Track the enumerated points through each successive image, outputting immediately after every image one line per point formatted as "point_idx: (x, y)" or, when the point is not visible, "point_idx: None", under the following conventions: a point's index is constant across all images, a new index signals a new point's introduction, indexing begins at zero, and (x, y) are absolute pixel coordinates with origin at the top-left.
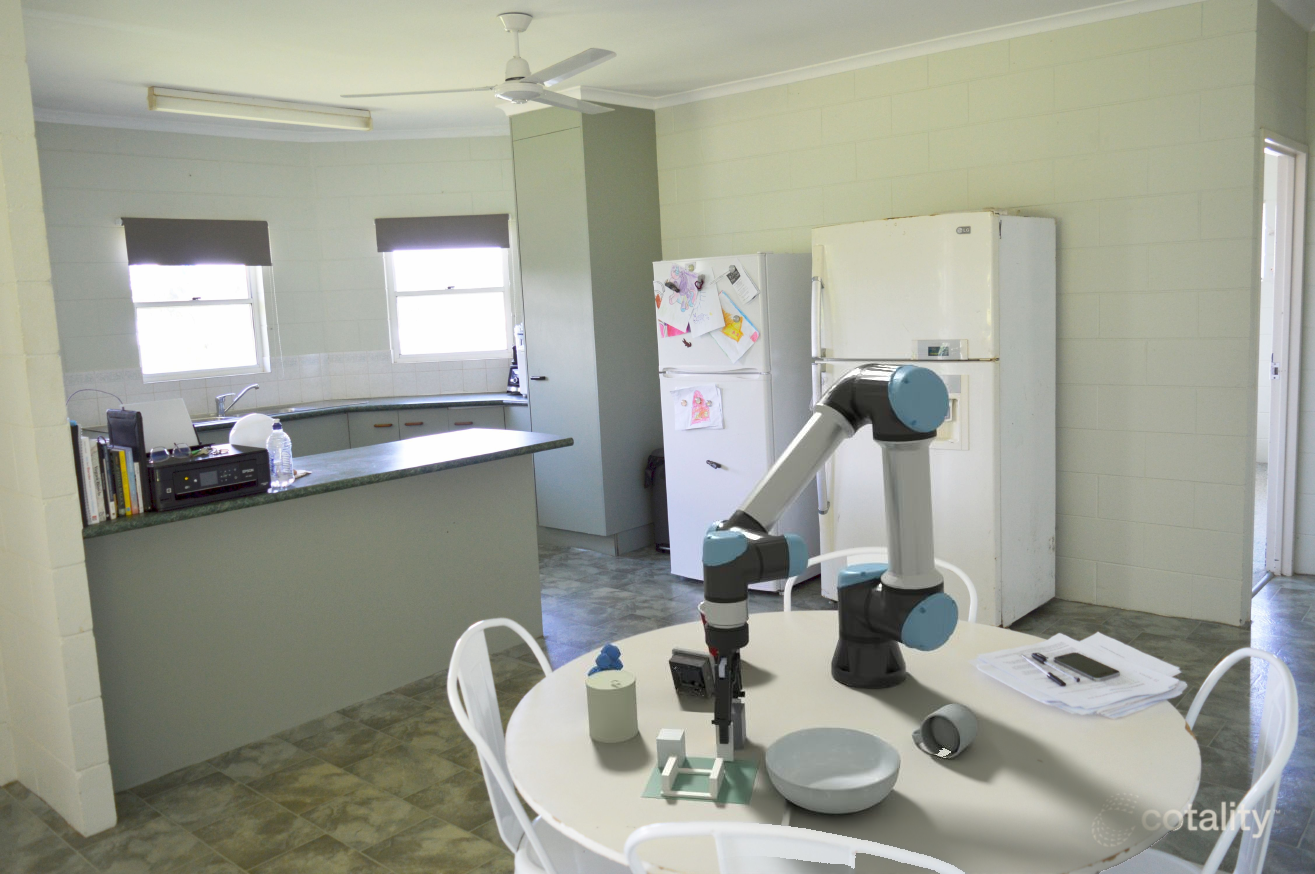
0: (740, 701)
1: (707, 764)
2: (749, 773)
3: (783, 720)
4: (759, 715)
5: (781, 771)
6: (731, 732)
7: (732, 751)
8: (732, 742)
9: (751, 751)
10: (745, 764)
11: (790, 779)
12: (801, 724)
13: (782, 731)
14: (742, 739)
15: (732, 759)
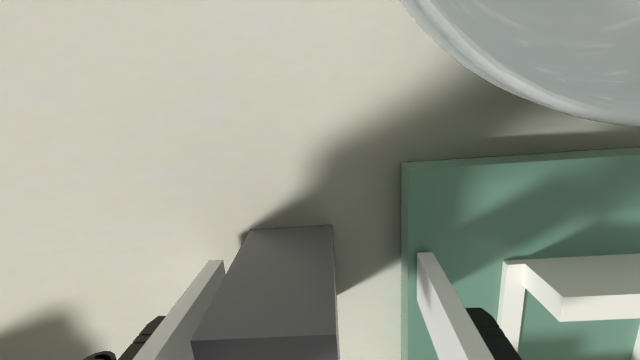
0: (156, 357)
1: None
2: (504, 184)
3: (26, 144)
4: (24, 229)
5: (545, 62)
6: (474, 327)
7: (442, 271)
8: (455, 293)
9: (284, 208)
10: (440, 209)
11: (547, 25)
12: (29, 72)
13: (111, 133)
14: (330, 255)
15: (434, 256)
